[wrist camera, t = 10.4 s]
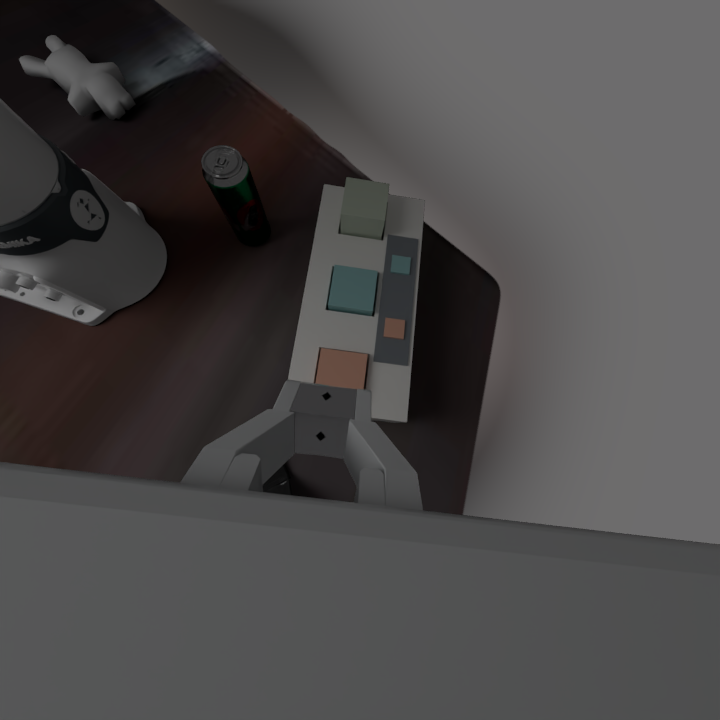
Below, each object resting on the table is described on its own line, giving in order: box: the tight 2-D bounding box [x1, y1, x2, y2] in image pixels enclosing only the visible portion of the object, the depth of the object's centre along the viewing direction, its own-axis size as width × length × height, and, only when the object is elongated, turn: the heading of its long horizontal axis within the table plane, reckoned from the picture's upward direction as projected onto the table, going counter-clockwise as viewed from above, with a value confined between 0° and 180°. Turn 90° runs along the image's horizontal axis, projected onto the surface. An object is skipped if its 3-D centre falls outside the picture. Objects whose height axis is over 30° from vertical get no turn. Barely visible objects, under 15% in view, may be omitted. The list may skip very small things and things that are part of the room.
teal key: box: [328, 265, 378, 316], centre depth 34 cm, size 5×5×4 cm
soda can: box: [201, 145, 271, 246], centre depth 36 cm, size 5×5×12 cm
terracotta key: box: [315, 348, 368, 389], centre depth 31 cm, size 5×5×4 cm
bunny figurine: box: [19, 35, 135, 120], centre depth 43 cm, size 10×5×15 cm
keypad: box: [288, 184, 425, 423], centre depth 36 cm, size 13×28×8 cm, turn 173°
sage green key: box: [341, 177, 389, 240], centre depth 34 cm, size 5×5×4 cm
